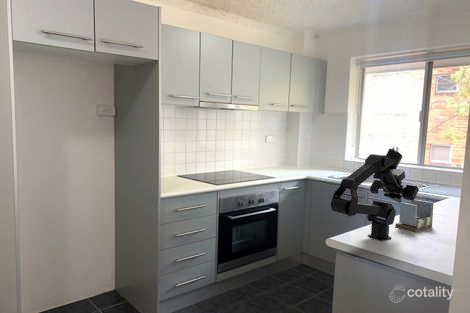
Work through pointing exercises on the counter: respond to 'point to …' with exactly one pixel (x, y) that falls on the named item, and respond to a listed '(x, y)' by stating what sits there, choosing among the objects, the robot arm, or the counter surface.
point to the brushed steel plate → (424, 209)
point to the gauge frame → (421, 225)
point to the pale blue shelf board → (408, 214)
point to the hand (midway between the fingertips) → (400, 201)
